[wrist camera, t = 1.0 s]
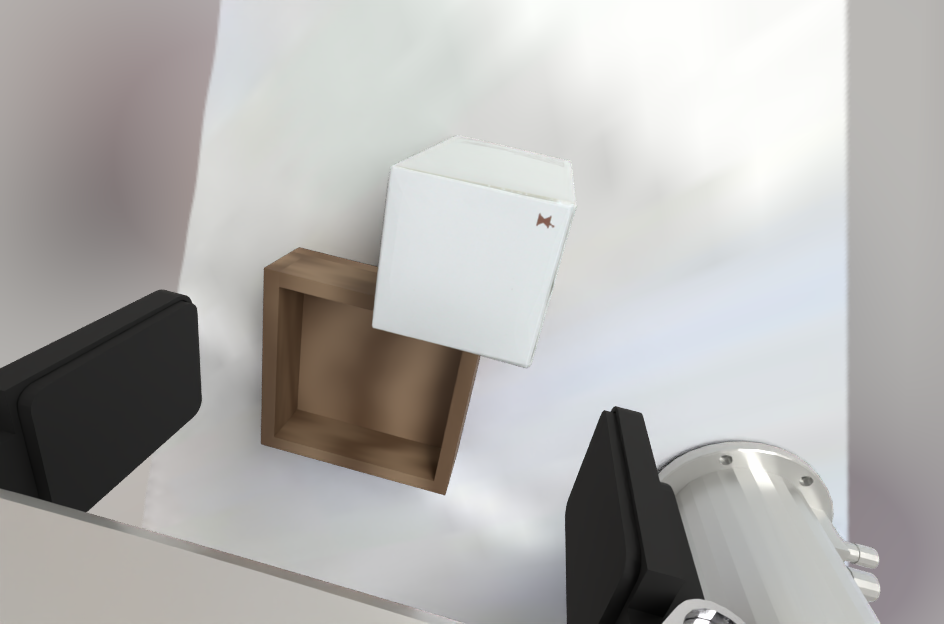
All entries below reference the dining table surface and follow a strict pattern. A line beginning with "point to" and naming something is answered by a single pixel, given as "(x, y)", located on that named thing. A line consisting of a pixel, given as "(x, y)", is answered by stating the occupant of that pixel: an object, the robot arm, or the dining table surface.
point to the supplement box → (473, 246)
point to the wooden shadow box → (356, 377)
